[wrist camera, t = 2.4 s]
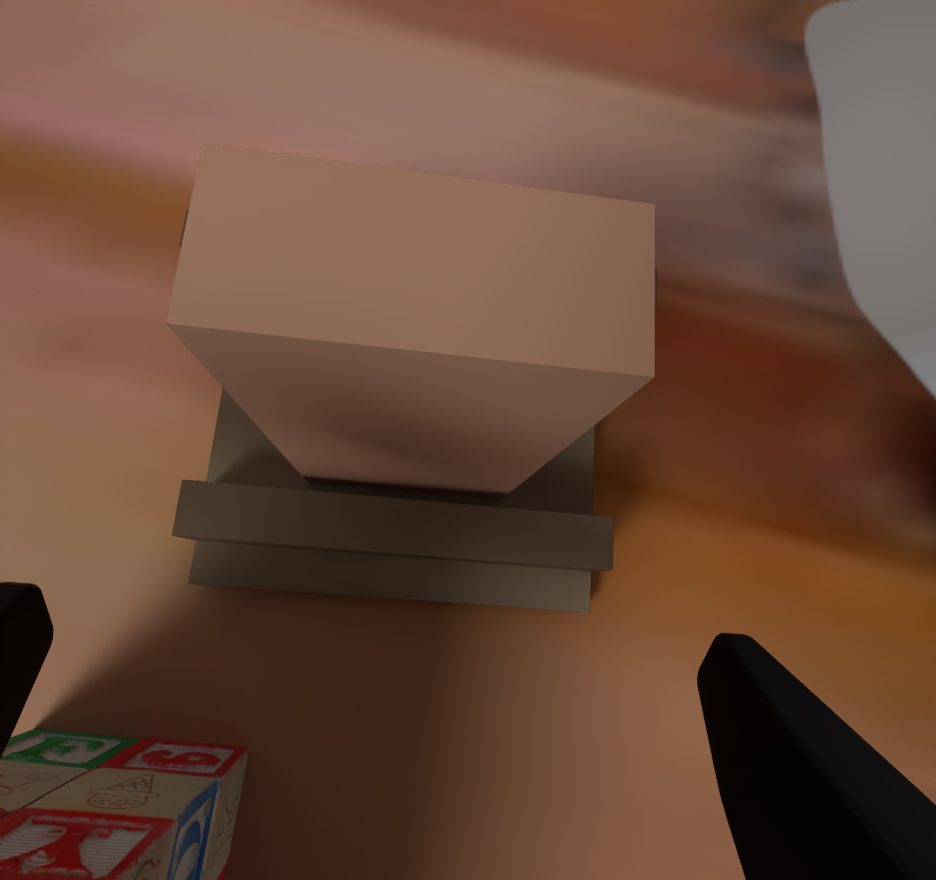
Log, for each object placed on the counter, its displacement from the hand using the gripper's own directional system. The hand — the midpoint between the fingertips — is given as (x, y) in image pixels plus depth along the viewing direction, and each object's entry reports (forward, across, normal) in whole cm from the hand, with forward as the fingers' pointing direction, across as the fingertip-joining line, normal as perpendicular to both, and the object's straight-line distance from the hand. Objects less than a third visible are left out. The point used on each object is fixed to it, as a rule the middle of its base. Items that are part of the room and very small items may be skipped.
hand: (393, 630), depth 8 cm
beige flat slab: (+11, 0, +4) cm, 11 cm away
